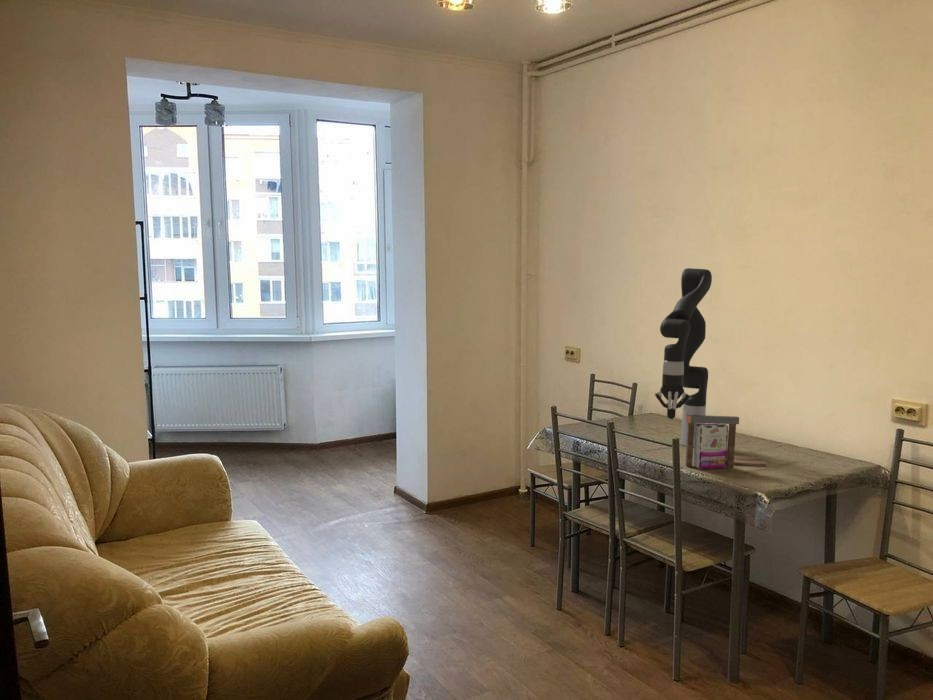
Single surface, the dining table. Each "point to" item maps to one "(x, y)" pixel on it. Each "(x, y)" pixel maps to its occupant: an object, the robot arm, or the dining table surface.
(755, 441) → the dining table surface
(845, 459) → the dining table surface
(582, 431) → the dining table surface
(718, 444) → the candy bar box
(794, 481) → the dining table surface
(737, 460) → the walnut board
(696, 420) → the bar
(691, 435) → the posts
